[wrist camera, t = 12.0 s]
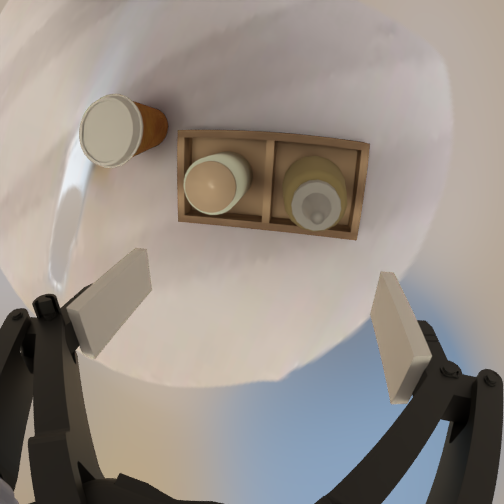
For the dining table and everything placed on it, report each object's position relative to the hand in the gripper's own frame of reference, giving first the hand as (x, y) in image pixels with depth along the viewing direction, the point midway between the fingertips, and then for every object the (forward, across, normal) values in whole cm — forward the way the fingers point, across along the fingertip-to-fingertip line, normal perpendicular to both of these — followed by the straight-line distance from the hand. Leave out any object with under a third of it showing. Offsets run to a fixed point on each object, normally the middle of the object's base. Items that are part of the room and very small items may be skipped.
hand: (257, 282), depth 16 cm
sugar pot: (+27, -8, +1) cm, 29 cm away
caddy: (+28, -2, +1) cm, 29 cm away
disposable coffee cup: (+29, -21, +8) cm, 37 cm away
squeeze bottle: (+28, +4, +1) cm, 28 cm away
